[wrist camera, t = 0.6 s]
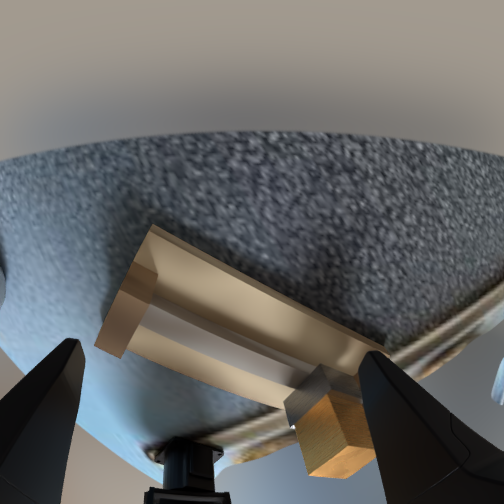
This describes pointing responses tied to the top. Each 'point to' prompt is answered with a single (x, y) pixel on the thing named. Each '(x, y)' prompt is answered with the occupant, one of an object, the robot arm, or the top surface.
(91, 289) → the top surface
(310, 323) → the rail board
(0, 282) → the plastic bottle
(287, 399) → the slider block
